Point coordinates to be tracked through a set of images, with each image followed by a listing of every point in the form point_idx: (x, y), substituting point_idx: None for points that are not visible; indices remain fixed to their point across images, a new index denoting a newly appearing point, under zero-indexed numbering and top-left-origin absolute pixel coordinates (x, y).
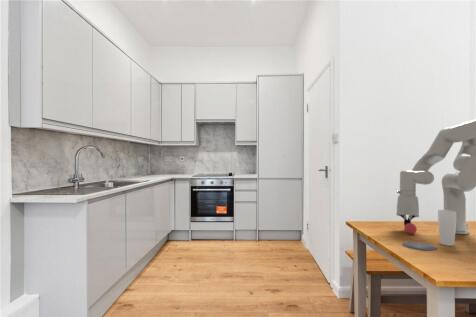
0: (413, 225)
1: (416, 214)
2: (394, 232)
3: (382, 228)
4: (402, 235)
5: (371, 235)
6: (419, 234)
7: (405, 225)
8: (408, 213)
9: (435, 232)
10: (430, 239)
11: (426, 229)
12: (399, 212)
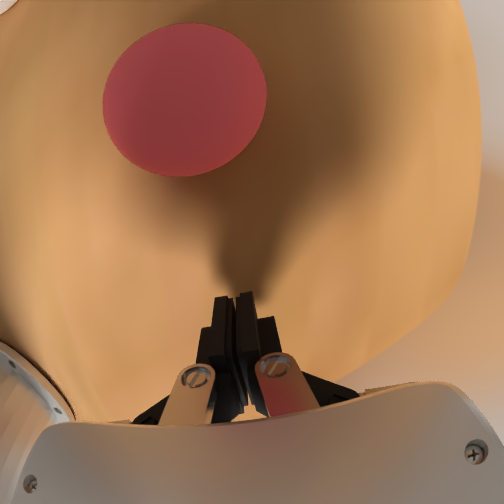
0: (125, 54)
1: (62, 423)
2: (353, 102)
3: (439, 246)
4: (267, 4)
5: None
6: (113, 156)
7: (250, 58)
8: (212, 443)
9: (52, 334)
10: (55, 25)
11: (125, 401)
12: (440, 393)
